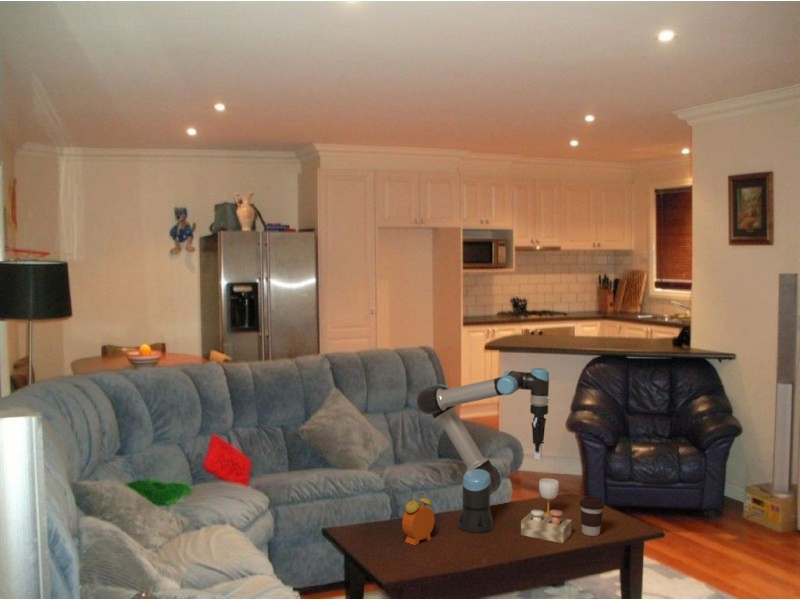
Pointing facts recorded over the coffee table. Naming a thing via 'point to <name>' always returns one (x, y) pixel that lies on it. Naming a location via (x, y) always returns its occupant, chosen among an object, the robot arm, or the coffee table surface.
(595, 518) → the coffee cup
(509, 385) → the robot arm
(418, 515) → the alarm clock
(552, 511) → the terracotta plug
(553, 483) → the cup
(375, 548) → the coffee table surface
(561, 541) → the beech block
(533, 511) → the ivory plug
